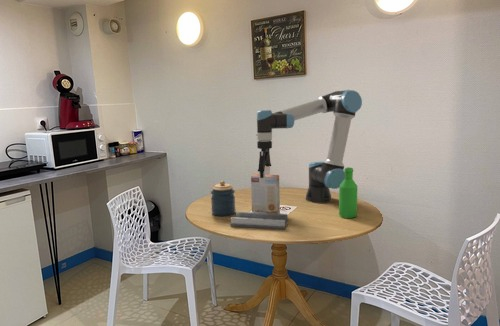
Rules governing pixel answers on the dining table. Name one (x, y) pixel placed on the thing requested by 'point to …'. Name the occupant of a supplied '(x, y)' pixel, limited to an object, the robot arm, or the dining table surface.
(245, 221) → the grey long shallow tray
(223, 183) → the canister
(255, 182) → the cracker box
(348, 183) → the bottle
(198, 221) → the dining table surface
